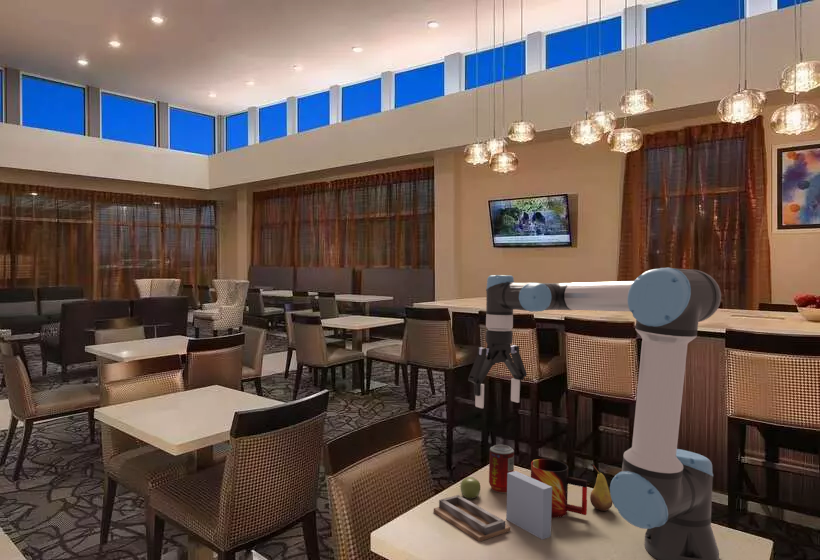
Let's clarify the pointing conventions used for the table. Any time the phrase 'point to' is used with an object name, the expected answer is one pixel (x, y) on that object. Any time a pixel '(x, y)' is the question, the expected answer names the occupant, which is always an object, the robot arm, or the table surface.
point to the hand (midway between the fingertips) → (497, 404)
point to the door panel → (529, 504)
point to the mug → (559, 485)
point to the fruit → (601, 493)
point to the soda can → (500, 467)
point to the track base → (471, 518)
